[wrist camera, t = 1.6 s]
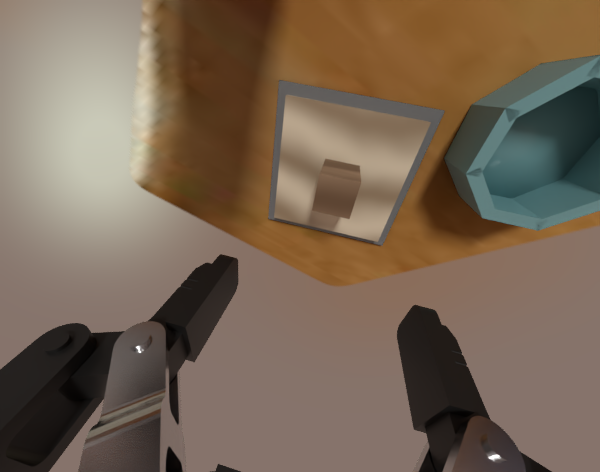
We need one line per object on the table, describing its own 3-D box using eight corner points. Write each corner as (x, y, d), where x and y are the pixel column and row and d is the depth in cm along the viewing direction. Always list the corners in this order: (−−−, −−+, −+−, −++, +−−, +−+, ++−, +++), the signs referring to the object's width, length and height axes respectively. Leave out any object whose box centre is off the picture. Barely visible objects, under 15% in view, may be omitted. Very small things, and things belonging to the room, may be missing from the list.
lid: (288, 94, 21) (268, 95, 16) (427, 121, 20) (452, 131, 15) (276, 213, 28) (260, 239, 23) (377, 237, 27) (382, 269, 22)
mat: (280, 80, 20) (279, 80, 20) (443, 110, 19) (444, 110, 19) (269, 217, 29) (268, 218, 29) (381, 243, 28) (382, 245, 28)
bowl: (496, 56, 17) (543, 45, 13) (652, 81, 16) (756, 78, 12) (427, 189, 23) (444, 210, 19) (537, 212, 22) (578, 239, 18)
